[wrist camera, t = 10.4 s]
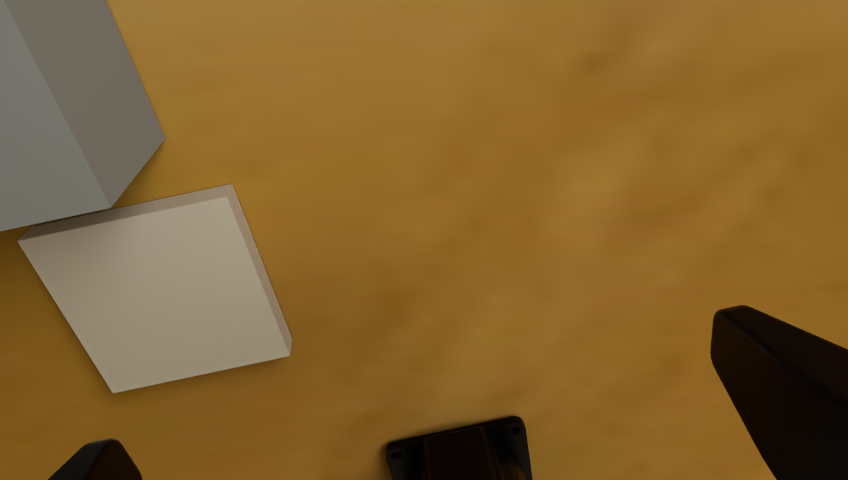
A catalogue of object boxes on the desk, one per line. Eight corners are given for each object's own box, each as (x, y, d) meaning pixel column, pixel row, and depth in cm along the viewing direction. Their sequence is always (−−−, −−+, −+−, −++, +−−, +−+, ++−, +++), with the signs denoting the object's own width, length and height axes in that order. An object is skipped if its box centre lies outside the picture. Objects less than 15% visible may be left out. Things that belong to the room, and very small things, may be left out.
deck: (292, 339, 24) (289, 356, 23) (121, 375, 24) (113, 393, 23) (232, 183, 20) (226, 196, 19) (31, 226, 20) (16, 241, 19)
